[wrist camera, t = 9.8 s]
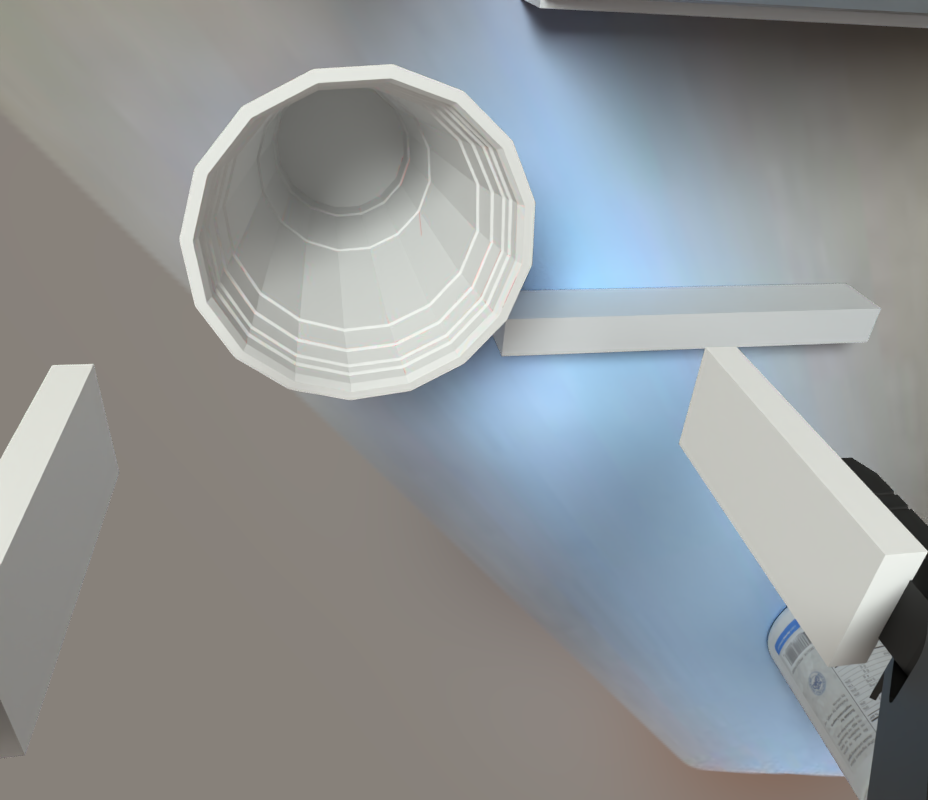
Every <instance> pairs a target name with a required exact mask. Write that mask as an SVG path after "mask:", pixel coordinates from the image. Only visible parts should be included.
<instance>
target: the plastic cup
mask: <svg viewBox="0 0 928 800" xmlns="http://www.w3.org/2000/svg"><path fill="white" fill-rule="evenodd" d="M534 218H535V200H534V197H533V195H532V192H531V189H530V187H529V184H528V181H527V178H526V176H525V173H524V170H523V168H522V165H521V162H520V159H519V157H518V154H517V151H516V149H515V146H514V143H513V141H512V140H511V139H510V138H509V137H508V136H507V135H506V134H505V133H504V132H503V131H502V130H501V129H500V128H499V127H498V126H497V125H496V124H495V123H494V122H493V120H492V119H491V118H490V117H489V116H488V115H487V114H486V113H485V112H484V111H483V110H482V109H481V108H480V107H479V106H478V105H477V104H476V103H475V102H474V101H473V100H472V99H471V98H470V97H469V96H468V95H467V94H466V93H465V92H464V91H462V90H459V89H457V88H454V87H452V86H449V85H446V84H444V83H441V82H438V81H436V80H433V79H431V78H428V77H425V76H423V75H420V74H417V73H415V72H412V71H409V70H407V69H404V68H402V67H399V66H396V65H394V64H387V65H371V66H355V67H338V68H322V69H312V70H310V71H309V72H307V73H305V74H303V75H301V76H299V77H297V78H295V79H293V80H291V81H290V82H288V83H286V84H284V85H282V86H280V87H278V88H276V89H274V90H272V91H271V92H269V93H267V94H265V95H263V96H261V97H259V98H257V99H255V100H253V101H252V102H250V103H248V104H246V105H244V106H242V107H241V108H240V110H239V111H238V112H237V114H236V115H235V116H234V118H233V119H232V120H231V121H230V123H229V124H228V125H227V127H226V128H225V129H224V131H223V132H222V133H221V134H220V136H219V137H218V138H217V140H216V141H215V142H214V144H213V145H212V146H211V148H210V149H209V150H208V151H207V153H206V154H205V155H204V157H203V158H202V159H201V161H200V162H199V163H198V164H197V166H196V167H195V169H194V173H193V178H192V183H191V187H190V192H189V197H188V201H187V206H186V211H185V215H184V220H183V225H182V229H181V234H180V239H179V240H180V244H181V249H182V253H183V257H184V261H185V266H186V270H187V274H188V278H189V282H190V287H191V291H192V295H193V299H194V304H195V307H196V308H197V309H198V310H199V312H200V313H201V314H202V316H203V317H204V318H205V320H206V321H207V322H208V323H209V325H210V326H211V327H212V329H213V330H214V331H215V333H216V334H217V335H218V336H219V338H220V339H221V340H222V342H223V343H224V344H225V346H226V347H227V348H228V349H229V351H230V352H231V353H232V355H233V356H234V357H235V358H236V359H238V360H240V361H241V362H243V363H245V364H247V365H248V366H250V367H252V368H254V369H255V370H257V371H259V372H260V373H262V374H264V375H266V376H267V377H269V378H271V379H272V380H274V381H276V382H278V383H279V384H281V385H283V386H284V387H286V388H288V389H290V390H295V391H301V392H307V393H312V394H318V395H323V396H329V397H335V398H340V399H346V400H355V399H362V398H368V397H375V396H381V395H388V394H394V393H401V392H407V391H412V390H414V389H415V388H417V387H419V386H421V385H423V384H425V383H427V382H429V381H431V380H433V379H435V378H437V377H439V376H441V375H443V374H445V373H447V372H449V371H451V370H453V369H455V368H457V367H458V366H460V365H462V364H464V363H465V362H466V361H467V360H468V359H469V358H470V357H471V356H472V355H473V354H474V353H475V352H476V351H477V350H478V349H479V348H480V347H481V346H482V345H483V344H484V343H485V342H486V341H487V340H488V339H489V338H490V337H491V336H492V335H493V334H494V333H495V332H496V331H497V330H498V329H499V328H500V327H501V326H502V324H503V323H504V322H505V321H506V320H507V319H508V316H509V314H510V312H511V310H512V308H513V305H514V303H515V301H516V299H517V297H518V294H519V292H520V290H521V288H522V286H523V283H524V281H525V279H526V277H527V275H528V272H529V270H530V268H531V266H532V256H533V237H534Z"/></svg>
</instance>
